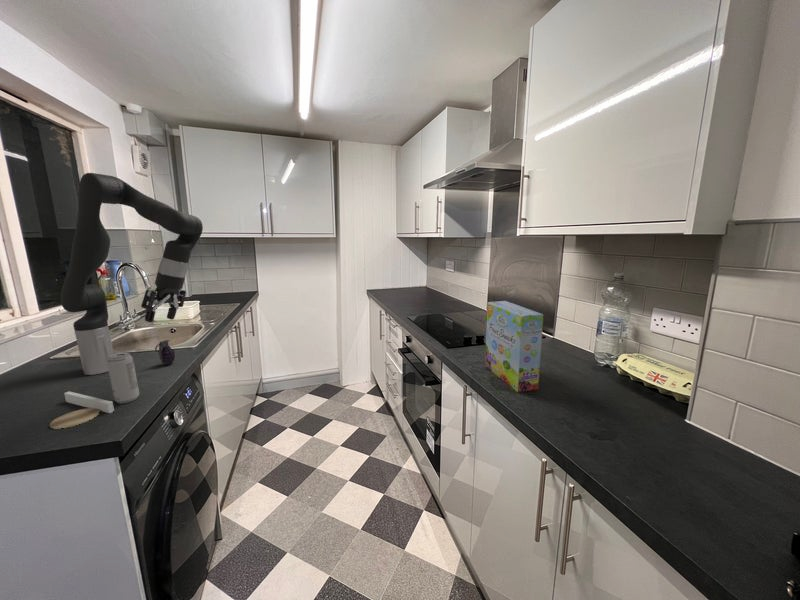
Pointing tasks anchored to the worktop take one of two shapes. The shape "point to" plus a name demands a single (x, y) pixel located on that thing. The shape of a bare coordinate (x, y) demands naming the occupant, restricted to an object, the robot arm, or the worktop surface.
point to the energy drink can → (123, 377)
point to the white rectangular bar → (89, 402)
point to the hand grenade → (165, 352)
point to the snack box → (514, 344)
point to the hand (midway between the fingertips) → (159, 320)
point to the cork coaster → (74, 418)
